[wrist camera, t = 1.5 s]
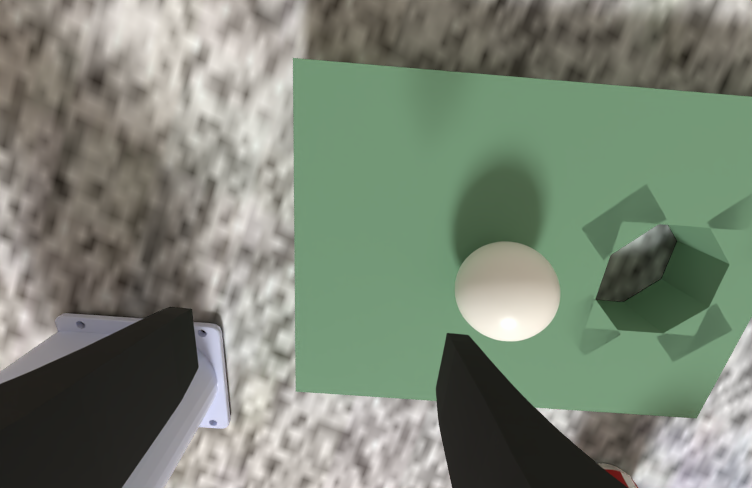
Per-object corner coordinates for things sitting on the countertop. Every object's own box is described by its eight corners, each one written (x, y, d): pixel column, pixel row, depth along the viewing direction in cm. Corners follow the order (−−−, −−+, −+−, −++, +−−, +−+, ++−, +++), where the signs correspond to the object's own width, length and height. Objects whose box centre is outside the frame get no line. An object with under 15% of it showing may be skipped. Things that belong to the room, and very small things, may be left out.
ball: (440, 303, 17) (458, 359, 13) (454, 224, 15) (478, 262, 12) (523, 309, 17) (564, 367, 13) (544, 231, 15) (596, 271, 12)
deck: (306, 354, 22) (295, 391, 19) (308, 67, 16) (292, 58, 13) (656, 378, 22) (696, 418, 19) (781, 106, 16) (865, 106, 13)
